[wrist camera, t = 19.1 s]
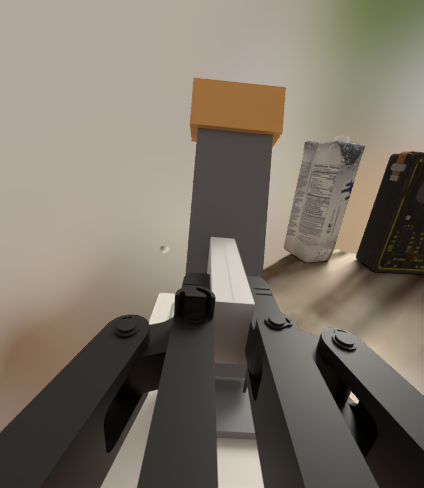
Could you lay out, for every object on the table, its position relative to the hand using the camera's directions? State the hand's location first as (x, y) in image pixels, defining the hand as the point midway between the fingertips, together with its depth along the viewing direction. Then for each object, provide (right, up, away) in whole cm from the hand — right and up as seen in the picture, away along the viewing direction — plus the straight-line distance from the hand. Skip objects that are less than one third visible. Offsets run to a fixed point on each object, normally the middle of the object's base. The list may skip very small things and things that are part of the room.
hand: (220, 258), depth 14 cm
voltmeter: (+42, -5, +41) cm, 59 cm away
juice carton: (+23, -2, +43) cm, 49 cm away
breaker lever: (0, -8, +1) cm, 8 cm away
